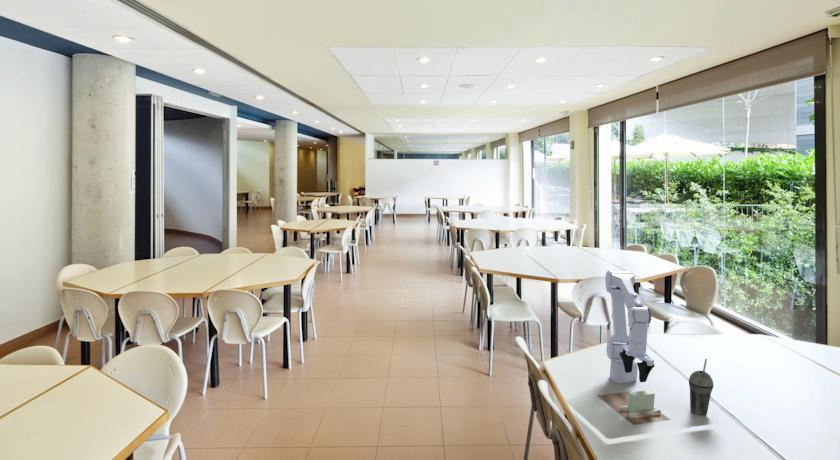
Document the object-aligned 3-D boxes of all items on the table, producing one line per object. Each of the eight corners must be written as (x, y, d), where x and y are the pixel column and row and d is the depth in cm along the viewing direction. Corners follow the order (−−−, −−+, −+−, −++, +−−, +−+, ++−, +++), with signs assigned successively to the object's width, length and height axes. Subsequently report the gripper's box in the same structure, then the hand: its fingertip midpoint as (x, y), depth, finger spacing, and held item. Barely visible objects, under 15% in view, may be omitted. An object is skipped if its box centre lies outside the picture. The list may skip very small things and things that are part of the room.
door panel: (648, 409, 157) (649, 390, 156) (653, 413, 154) (654, 393, 153) (627, 412, 155) (629, 392, 154) (632, 415, 152) (634, 396, 152)
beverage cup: (681, 410, 158) (685, 355, 156) (700, 409, 159) (705, 354, 157) (695, 421, 151) (700, 364, 149) (716, 420, 152) (721, 363, 149)
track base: (629, 394, 170) (630, 387, 169) (670, 422, 150) (670, 415, 150) (596, 398, 167) (596, 391, 166) (633, 428, 147) (634, 420, 147)
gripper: (614, 334, 166) (612, 369, 168) (642, 348, 152) (639, 387, 154) (631, 332, 168) (629, 367, 170) (660, 347, 154) (657, 385, 156)
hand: (635, 376), depth 162 cm, fingers open, 7 cm apart
